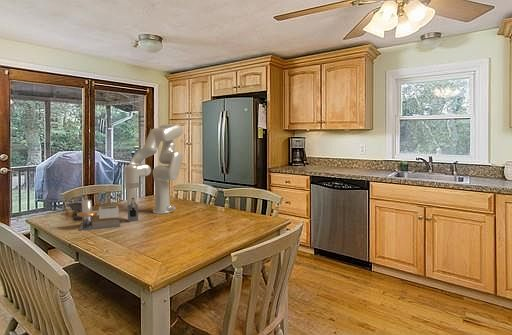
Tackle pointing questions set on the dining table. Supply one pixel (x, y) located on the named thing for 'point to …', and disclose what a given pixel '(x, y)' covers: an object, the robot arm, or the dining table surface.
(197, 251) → the dining table surface
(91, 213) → the grey boxy fixture
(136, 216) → the grey block
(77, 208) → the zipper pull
